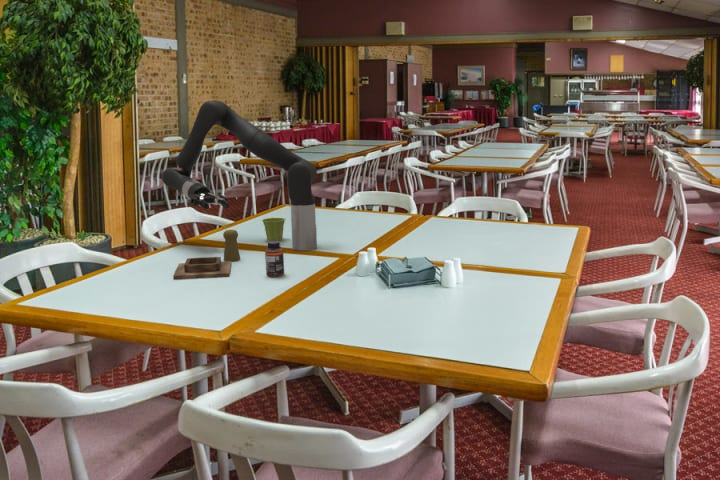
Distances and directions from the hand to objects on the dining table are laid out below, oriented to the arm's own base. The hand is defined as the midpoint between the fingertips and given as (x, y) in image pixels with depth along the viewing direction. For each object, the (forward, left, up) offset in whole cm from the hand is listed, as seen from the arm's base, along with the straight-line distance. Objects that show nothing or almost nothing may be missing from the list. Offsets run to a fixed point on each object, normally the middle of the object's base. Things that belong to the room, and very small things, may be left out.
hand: (217, 206), depth 276 cm
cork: (-5, +9, -19) cm, 21 cm away
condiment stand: (+4, +25, -18) cm, 32 cm away
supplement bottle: (-20, +35, -19) cm, 44 cm away
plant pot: (-21, -23, -19) cm, 36 cm away
